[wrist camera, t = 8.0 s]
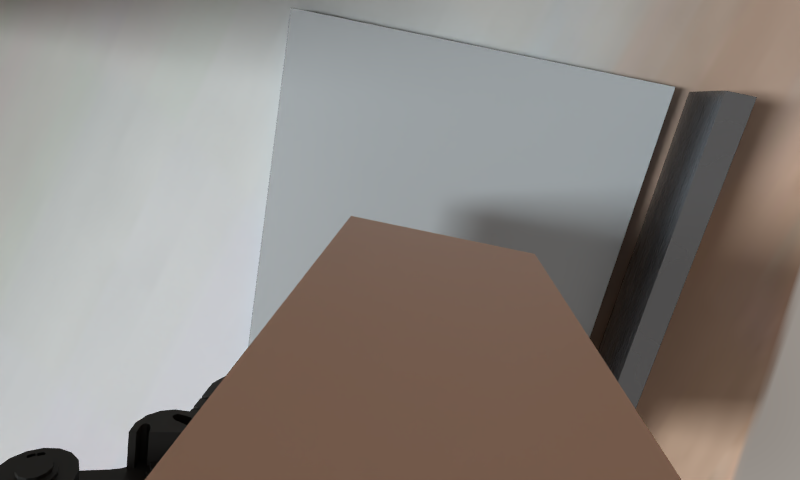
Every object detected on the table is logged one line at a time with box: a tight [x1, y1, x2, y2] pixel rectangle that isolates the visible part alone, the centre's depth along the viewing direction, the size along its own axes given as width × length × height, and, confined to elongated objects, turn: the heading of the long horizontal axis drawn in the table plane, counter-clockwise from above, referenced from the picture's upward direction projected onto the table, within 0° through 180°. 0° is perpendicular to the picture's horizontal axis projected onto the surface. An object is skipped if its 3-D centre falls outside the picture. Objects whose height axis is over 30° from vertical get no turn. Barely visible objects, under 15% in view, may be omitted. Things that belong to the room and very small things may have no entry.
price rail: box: [598, 91, 757, 409], centre depth 20 cm, size 20×1×2 cm, turn 169°
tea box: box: [145, 216, 681, 480], centre depth 11 cm, size 6×8×12 cm
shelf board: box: [248, 8, 675, 347], centre depth 21 cm, size 20×14×1 cm
